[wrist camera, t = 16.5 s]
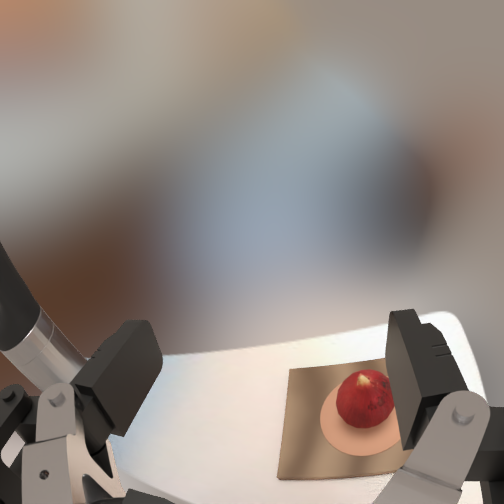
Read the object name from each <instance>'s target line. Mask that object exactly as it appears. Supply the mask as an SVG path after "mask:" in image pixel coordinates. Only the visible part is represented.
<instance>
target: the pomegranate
mask: <svg viewBox="0 0 504 504" xmlns="http://www.w3.org/2000/svg"><path fill="white" fill-rule="evenodd" d="M394 406H395V405H394V401H393V396H392V391H391V387H390V382H389V378H388V377H386V376H385V375H384V374H382V373H381V372H379V371H376V370H372V369H367V370H360V371H357V372H354V373H352V374H351V375H350V376H348V377H347V378H346V379H345V380H344V381H343V383H342V384H341V386H340V388H339V389H338V393H337V399H336V407H337V411H338V414H339V415H340V416H341V418H342V419H343V420H344V421H345V422H346V423H347V424H348V425H351V426H353V427H355V428H365V429H367V428H371V427H374V426H378V425H379V424H380V423H382V422H383V421H385V420H386V419H387V418H388V416H389V415H390V413H391V412H392V410H393V408H394Z"/></svg>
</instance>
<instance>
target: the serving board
mask: <svg viewBox="0 0 504 504" xmlns="http://www.w3.org/2000/svg"><path fill="white" fill-rule="evenodd" d="M367 369H372V370H376V371H379V372H381V373H382V374H384V375H385V376H386V377H388V373H387V369H386V360H385V358H381V359H375V360H368V361H361V362H354V363H346V364H338V365H329V366H319V367H309V368H297V369H290V370H289V380H288V390H287V400H286V409H285V418H284V426H283V435H282V443H281V451H280V458H279V466H278V473H277V478H278V479H280V480H318V479H339V478H352V477H363V476H372V475H380V474H387V473H394V472H397V470H398V469H399V468H400V467H402V466H403V465H404V464H405V462H406V461H407V459H408V458H409V456H410V454H411V453H412V451H413V450H414V449H411V450H405V451H403V449H402V443H401V437H400V432H399V426H398V421H397V416H396V410H395V406H394V408H393V410H392V412H391V413H390V415H389V416H388V418H387V419H386V420H385V421H383V422H382V423H380V424H379V425H378V426H374V427H371V428H367V429H365V428H355V427H353V426H351V425H348V424H347V423H346V422H345V421H344V420H343V419H342V418H341V416H340V415H339V414H338V411H337V407H336V399H337V393H338V389H339V388H340V386H341V384H342V383H343V381H344V380H345V379H346V378H347V377H348V376H350V375H351V374H352V373H354V372H357V371H360V370H367Z"/></svg>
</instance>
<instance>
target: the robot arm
mask: <svg viewBox="0 0 504 504" xmlns="http://www.w3.org/2000/svg"><path fill="white" fill-rule="evenodd" d="M97 350H98V351H96V352H95V353H94V354H93V355H92V356H91V359H89V360H88V361H87V360H86V359H85V358H84V357H83V356H82V355H81V354H80V352H79V351H78V350H77V349H76V348H75V347H74V346H73V345H72V344H71V342H70V341H69V340H68V339H67V338H66V337H65V336H64V335H63V333H62V332H61V331H60V330H59V329H58V327H57V326H56V325H55V324H54V323H53V322H52V321H51V319H50V318H49V317H48V315H47V314H46V313H45V312H44V310H43V309H42V308H41V307H40V305H39V304H38V303H37V301H36V300H35V299H34V297H33V296H32V294H31V292H30V290H29V289H28V287H27V285H26V284H25V282H24V281H23V279H22V278H21V276H20V275H19V273H18V272H17V270H16V268H15V267H14V265H13V264H12V262H11V260H10V259H9V257H8V255H7V253H6V251H5V250H4V248H3V246H2V244H1V242H0V351H1V352H2V353H3V354H4V355H5V356H6V357H7V358H8V359H9V360H10V361H11V362H12V364H13V365H15V366H16V367H17V368H18V369H19V370H20V371H21V372H22V373H23V374H24V375H25V376H26V377H27V378H28V379H29V380H30V381H31V382H32V383H33V384H34V385H36V386H37V387H38V388H39V389H40V390H41V391H42V392H43V393H42V394H41V396H28V394H27V393H26V391H25V390H24V388H23V387H22V386H21V385H19V384H13V385H10V386H7V387H6V388H4V389H3V390H2V391H1V392H0V504H174V503H172V502H170V501H168V500H166V499H165V498H161V497H157V496H153V495H150V494H146V493H142V492H139V491H136V490H133V489H128V491H127V493H125V491H124V490H123V488H122V486H121V483H120V480H119V476H118V472H117V468H116V464H115V459H114V455H113V451H112V446H111V443H110V441H109V440H108V437H109V435H110V433H111V434H114V435H118V436H122V437H124V436H125V434H126V432H127V430H128V428H129V426H130V425H131V423H132V421H133V419H134V417H135V416H136V414H137V412H138V410H139V409H140V407H141V405H142V403H143V401H144V400H145V398H146V396H147V394H148V393H149V391H150V389H151V387H152V385H153V384H154V382H155V380H156V378H157V377H158V375H159V373H160V371H161V369H162V365H163V358H162V353H161V351H160V348H159V346H158V343H157V340H156V338H155V335H154V332H153V329H152V327H151V325H150V323H149V322H148V321H146V320H126V321H125V322H124V323H123V325H122V326H121V327H120V328H119V329H118V331H117V332H116V333H115V334H113V335H112V336H110V337H109V338H107V339H106V340H105V341H104V342H103V343H102V344H101V345H100V347H99V348H98V349H97ZM385 360H386V369H387V373H388V378H389V382H390V387H391V391H392V396H393V401H394V405H395V410H396V416H397V421H398V426H399V432H400V437H401V443H402V449H403V451H405V450H411V449H414V450H413V451H412V453H411V454H410V456H409V458H408V459H407V461H406V462H405V464H404V465H403V466H402V467H400V468H399V469H398V470H397V472H396V473H395V474H394V475H393V477H392V478H391V480H390V481H389V482H388V484H387V485H386V486H385V488H384V489H383V490H382V492H381V493H380V494H379V496H378V497H377V498H376V499H375V501H374V502H373V503H372V504H457V503H458V501H459V499H460V496H461V494H462V490H461V487H462V484H463V482H464V481H480V485H481V491H482V498H483V504H504V407H490V406H489V405H488V403H487V402H486V401H485V399H484V398H483V397H481V396H480V395H478V394H477V393H474V392H471V391H469V390H468V388H467V385H466V383H465V381H464V379H463V376H462V374H461V372H460V370H459V368H458V365H457V363H456V361H455V359H454V357H453V355H451V351H450V349H449V347H448V346H447V343H446V341H445V339H444V337H443V335H442V333H441V332H440V331H439V330H438V329H437V328H436V327H434V326H433V325H432V324H431V323H426V324H421V322H420V320H419V318H418V316H417V314H416V312H415V310H414V309H408V310H399V311H391V312H390V315H389V324H388V334H387V343H386V352H385ZM14 431H16V432H17V434H18V435H19V436H20V437H21V438H22V439H23V441H24V442H25V445H24V446H23V448H22V449H21V451H20V452H19V454H18V456H17V457H16V458H15V460H14V462H13V463H12V465H11V466H10V468H8V467H7V466H6V465H5V464H4V463H3V461H2V459H1V450H2V448H3V447H4V445H5V444H6V443H7V441H8V440H9V438H10V437H11V435H12V434H13V432H14Z"/></svg>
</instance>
